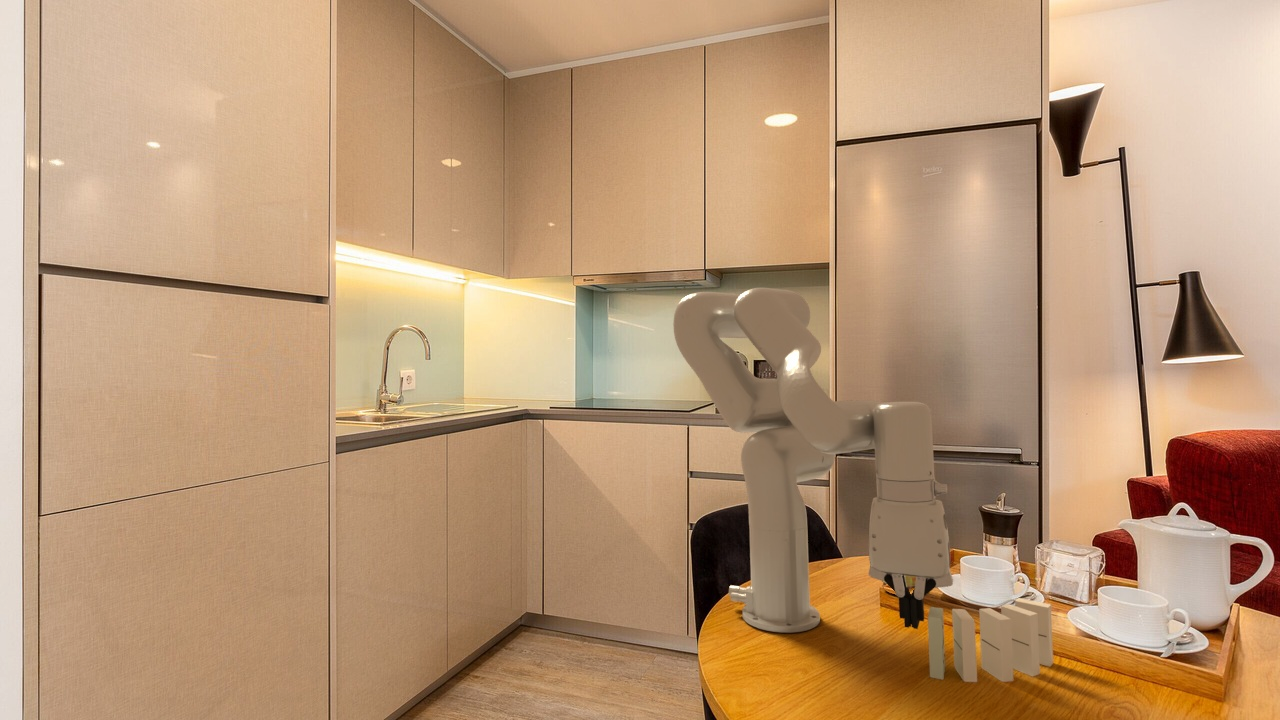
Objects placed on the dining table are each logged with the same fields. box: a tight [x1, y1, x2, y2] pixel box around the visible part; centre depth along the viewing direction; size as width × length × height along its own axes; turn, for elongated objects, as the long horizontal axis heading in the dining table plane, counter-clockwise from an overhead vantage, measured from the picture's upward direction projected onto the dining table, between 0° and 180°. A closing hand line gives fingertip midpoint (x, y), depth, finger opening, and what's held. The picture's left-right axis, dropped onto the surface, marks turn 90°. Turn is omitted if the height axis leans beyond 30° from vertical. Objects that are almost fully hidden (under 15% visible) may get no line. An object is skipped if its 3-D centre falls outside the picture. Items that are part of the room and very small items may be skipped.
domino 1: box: [951, 608, 978, 683], centre depth 84 cm, size 2×4×8 cm, turn 170°
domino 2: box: [978, 607, 1014, 683], centre depth 84 cm, size 2×4×8 cm, turn 8°
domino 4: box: [1014, 597, 1054, 668], centre depth 88 cm, size 2×4×8 cm, turn 45°
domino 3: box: [1000, 603, 1041, 677], centre depth 85 cm, size 2×4×8 cm, turn 26°
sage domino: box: [927, 606, 946, 680], centre depth 85 cm, size 2×4×8 cm, turn 151°
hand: (912, 624), depth 87 cm, fingers closed
